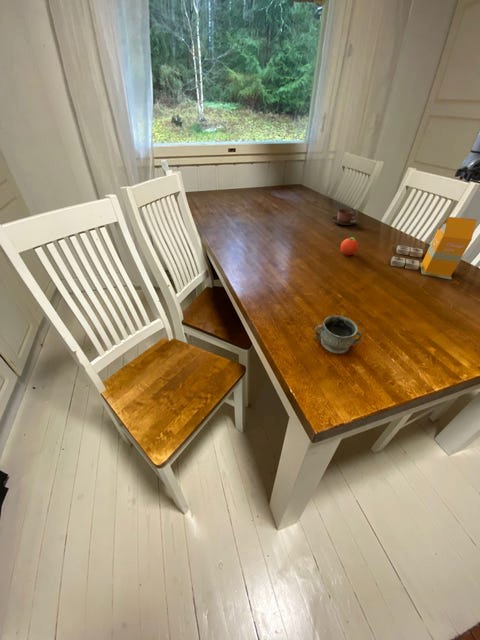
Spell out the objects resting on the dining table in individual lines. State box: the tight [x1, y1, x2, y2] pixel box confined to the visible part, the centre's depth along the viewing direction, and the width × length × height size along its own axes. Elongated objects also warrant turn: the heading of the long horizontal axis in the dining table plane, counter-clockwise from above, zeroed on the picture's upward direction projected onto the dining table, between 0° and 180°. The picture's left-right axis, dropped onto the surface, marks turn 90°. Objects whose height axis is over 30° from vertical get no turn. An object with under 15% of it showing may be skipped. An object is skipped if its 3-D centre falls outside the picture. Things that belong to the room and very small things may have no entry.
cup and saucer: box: [332, 208, 358, 226], centre depth 144 cm, size 12×12×6 cm
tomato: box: [340, 236, 359, 256], centre depth 114 cm, size 8×7×7 cm
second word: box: [390, 255, 453, 281], centre depth 107 cm, size 21×10×2 cm, turn 66°
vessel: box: [313, 314, 363, 354], centre depth 71 cm, size 12×9×6 cm
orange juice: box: [421, 216, 478, 277], centre depth 99 cm, size 8×9×20 cm
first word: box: [396, 245, 424, 258], centre depth 117 cm, size 10×4×2 cm, turn 66°
